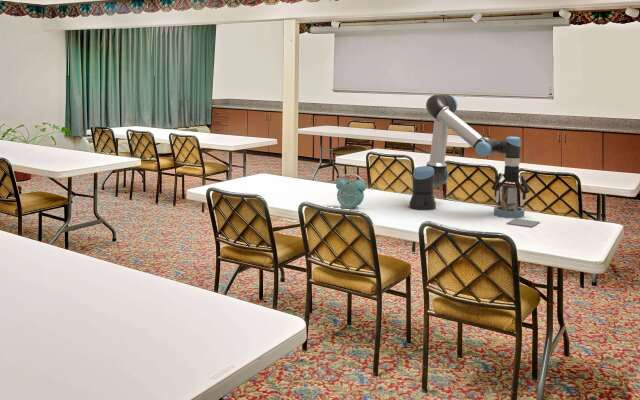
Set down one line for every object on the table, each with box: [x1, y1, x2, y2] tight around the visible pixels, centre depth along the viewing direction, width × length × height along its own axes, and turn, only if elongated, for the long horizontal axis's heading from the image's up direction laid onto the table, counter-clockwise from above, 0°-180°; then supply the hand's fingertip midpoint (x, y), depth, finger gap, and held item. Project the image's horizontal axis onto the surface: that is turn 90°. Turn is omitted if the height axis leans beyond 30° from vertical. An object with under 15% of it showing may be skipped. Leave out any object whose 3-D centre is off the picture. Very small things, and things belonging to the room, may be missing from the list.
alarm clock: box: [335, 173, 367, 210], centre depth 354 cm, size 17×10×20 cm, turn 68°
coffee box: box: [500, 184, 520, 211], centre depth 338 cm, size 9×6×16 cm
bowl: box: [493, 205, 525, 219], centre depth 339 cm, size 16×16×4 cm
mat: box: [506, 218, 541, 229], centre depth 320 cm, size 13×13×1 cm
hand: (509, 203), depth 338 cm, fingers open, 13 cm apart
